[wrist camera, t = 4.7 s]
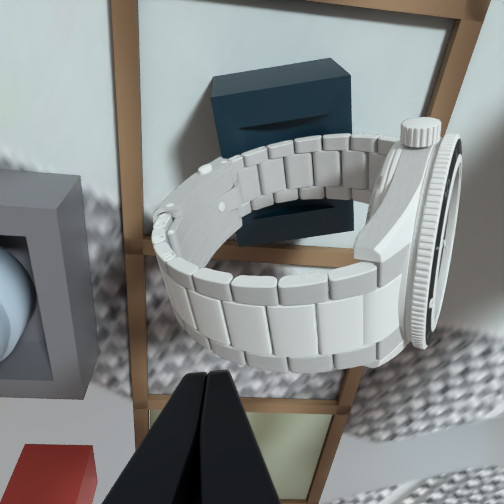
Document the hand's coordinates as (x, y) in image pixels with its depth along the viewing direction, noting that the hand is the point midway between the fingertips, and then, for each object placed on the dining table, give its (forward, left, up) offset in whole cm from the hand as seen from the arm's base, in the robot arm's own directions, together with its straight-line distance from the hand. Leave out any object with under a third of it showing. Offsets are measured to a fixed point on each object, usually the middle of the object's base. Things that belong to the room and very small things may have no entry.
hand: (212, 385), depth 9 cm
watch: (-2, -1, -12) cm, 12 cm away
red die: (+9, +21, -11) cm, 25 cm away
